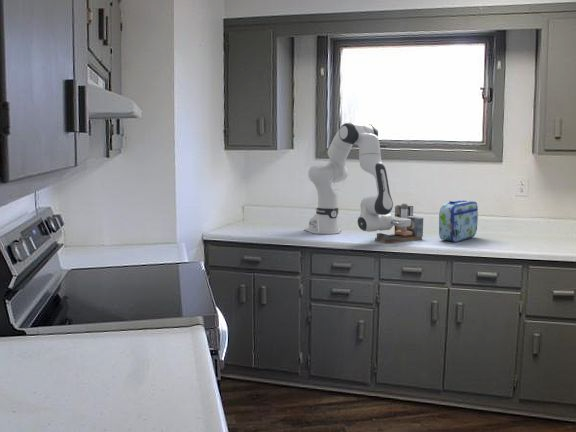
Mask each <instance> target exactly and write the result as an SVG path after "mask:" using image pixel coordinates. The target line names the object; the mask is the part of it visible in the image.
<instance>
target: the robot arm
mask: <svg viewBox="0 0 576 432" xmlns="http://www.w3.org/2000/svg"><path fill="white" fill-rule="evenodd" d="M378 136H379V130H378V128H377V127H376V126H375V125H373V124H369V123H368V124H366V123H363V122H353V123H352V122H346V123H343V124H341V126H340V127H339V129H338V130H337V132H336V134H335V136H333V139H332V141H331V143H330V145H329V148H328V150H327V156H328V158H329V161H328V162H327V163H318V164H314V165H312V166H310V167H309V168H308V169H309V170H308V172H307V173H308V175H307V176H308V179H309V180H310V182H312V183H313V185H314V187H315V189H316V193H317V208H315V207H314V208H315V214H314V215H313V216H312V217H311V218H310V219H309V221H308V226H307V227H305V228H304V231H306V232H308V233H312V234H319V235H321V234H324V235H329V234H330V235H334V234H340V233H341V232H342V229H341V227H340V226H341V224H340V222H341V221H340V217H339V207H338V206H339V205H338V202H339V201H338V197H339V196H338V192H336V191H335V190H334V189H333V187H332V183H341V182H343V181H345V180H346V179H347V178H348V175H349V172H348V171H349V170H348V168H347V166H346V161H347V158H348V156H349V154H350V151H352V150H351V149H352V147H353V145H357V146H358V159H359V160H358V161H359V162H358V163H359V166H360V169H362V170H363V171H364V172H366V173H368V174H370V175H372V176H373V177H374V180H375V184H376V185H375V186H376V191H377V194H376V195H372V196H371V195H370V196H365V197H363V198H362V200H361V203H360V214H359V217H357V226H358V227H359V229H360V230H361V231H364V232H366V233H367V232H377V231H389V230H391V229H392V228H393V227H395V226H399V227H405V226H411V219H406V218H401V217H395V215H392V214H391V212H392V210H393V208H394V202H393V198H392V195H391V192H390V187H389V186H390V185H389V180H388V179H389V178H388V175H387V174H388V173H387V170H386V166H385V165H384V164H383V161H382V154H381V143H380V140H379V137H378Z"/></svg>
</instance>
